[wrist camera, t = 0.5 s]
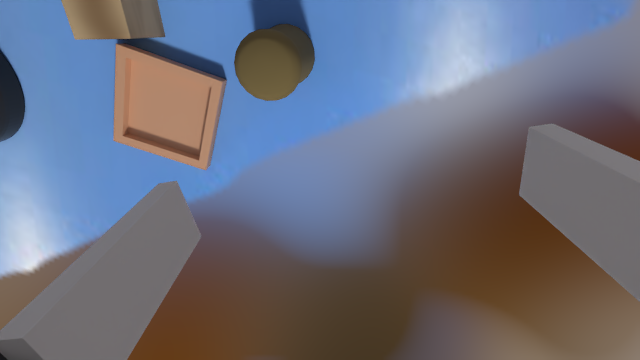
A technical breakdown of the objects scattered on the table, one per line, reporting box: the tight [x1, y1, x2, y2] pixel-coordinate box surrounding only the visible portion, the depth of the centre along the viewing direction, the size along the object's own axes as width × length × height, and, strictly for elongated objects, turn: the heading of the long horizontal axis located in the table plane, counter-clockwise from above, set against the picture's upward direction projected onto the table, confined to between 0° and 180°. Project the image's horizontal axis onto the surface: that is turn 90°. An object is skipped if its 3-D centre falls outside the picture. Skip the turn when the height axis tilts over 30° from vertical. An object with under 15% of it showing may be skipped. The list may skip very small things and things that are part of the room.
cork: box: [234, 24, 315, 101], centre depth 26 cm, size 6×6×11 cm
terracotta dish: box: [114, 43, 227, 170], centre depth 34 cm, size 11×11×1 cm
